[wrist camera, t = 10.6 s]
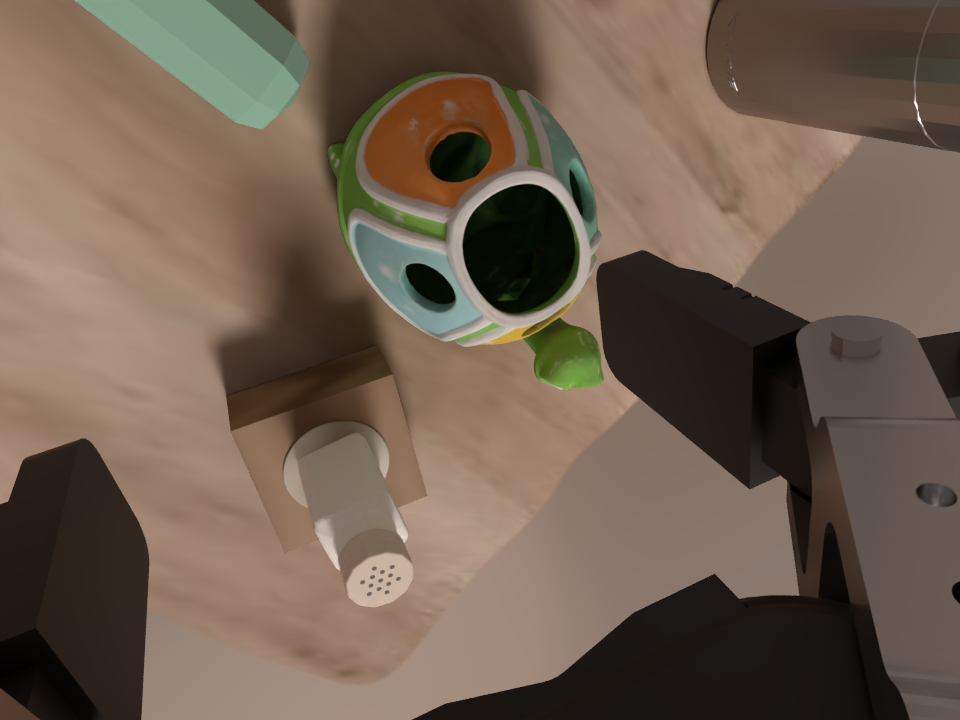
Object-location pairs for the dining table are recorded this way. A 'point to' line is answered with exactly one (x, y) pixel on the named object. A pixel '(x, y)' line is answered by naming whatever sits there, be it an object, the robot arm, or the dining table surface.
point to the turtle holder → (473, 218)
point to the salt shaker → (357, 520)
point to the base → (321, 433)
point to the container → (215, 51)
